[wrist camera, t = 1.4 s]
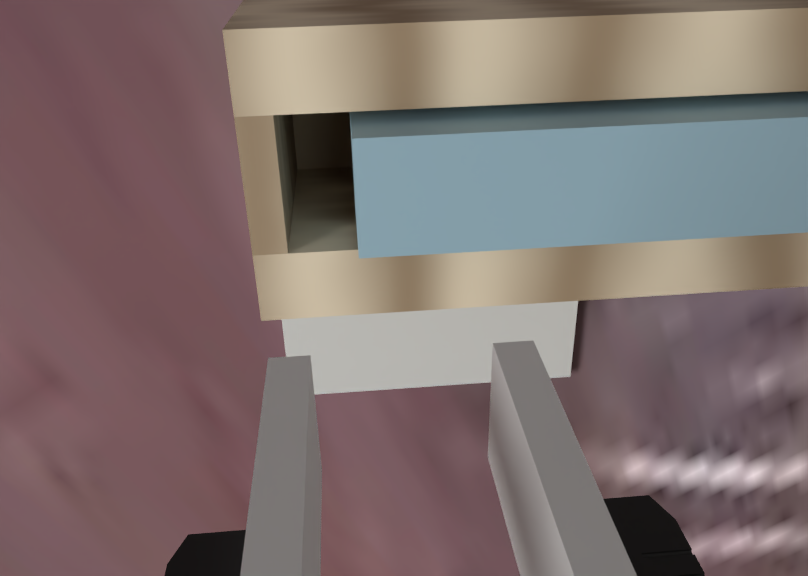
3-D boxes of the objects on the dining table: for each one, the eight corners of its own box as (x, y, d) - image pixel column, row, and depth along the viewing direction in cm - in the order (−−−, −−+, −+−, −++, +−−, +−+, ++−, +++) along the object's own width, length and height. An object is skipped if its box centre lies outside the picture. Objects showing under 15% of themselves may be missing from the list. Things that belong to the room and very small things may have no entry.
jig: (802, -31, 32) (969, 1, 23) (754, 190, 37) (879, 281, 28) (251, -12, 30) (222, 29, 22) (277, 216, 35) (261, 320, 27)
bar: (826, 82, 27) (900, 112, 23) (800, 186, 29) (865, 229, 25) (349, 103, 26) (352, 138, 22) (355, 211, 28) (358, 258, 24)
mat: (275, 254, 36) (274, 260, 35) (580, 237, 37) (584, 242, 36) (291, 389, 40) (290, 396, 39) (567, 370, 41) (570, 376, 40)
